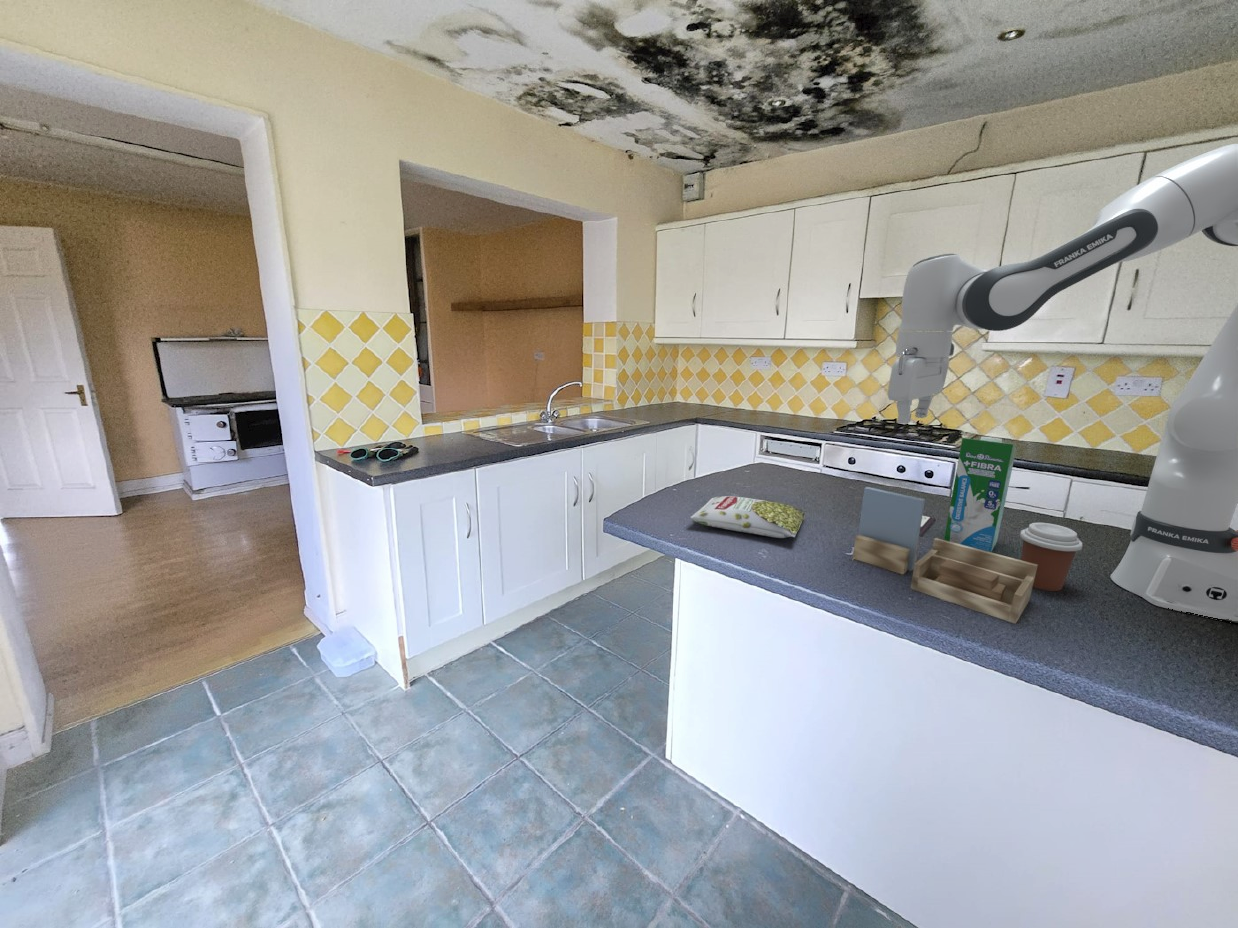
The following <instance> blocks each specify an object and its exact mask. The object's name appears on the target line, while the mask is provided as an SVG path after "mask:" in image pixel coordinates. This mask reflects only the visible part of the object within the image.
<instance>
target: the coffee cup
mask: <svg viewBox="0 0 1238 928" xmlns="http://www.w3.org/2000/svg"><path fill="white" fill-rule="evenodd" d="M1019 537H1020V538H1021V539H1022V548H1021V549H1022V550H1021V559H1020V560H1022V561H1026V562H1029V563H1033V564H1037V565H1038V566H1037V570H1036V575H1035V579H1034V583H1033V587H1032V588H1033V589H1034V588H1035V589H1038V590H1041V591H1042V590H1043V591H1049V592H1060V591H1062V590H1063V587H1064V585H1065V582H1066V580H1067V576H1068V574H1069V572H1070V569H1071V565H1072V563H1073V561H1074V558H1075V555H1076V553H1077V552H1079V551H1082V550H1083V546H1084V545H1083V544H1084V543H1083V542H1082V541H1081V540H1080V538H1078V532H1076V531H1074V529H1071V528H1069V527H1066V526H1062V525H1059V524H1055V523H1047V522H1032V523H1029V525H1028V527H1026V528H1024V529H1021V530H1020V533H1019Z"/></svg>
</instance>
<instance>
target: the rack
mask: <svg viewBox="0 0 1238 928" xmlns="http://www.w3.org/2000/svg"><path fill="white" fill-rule="evenodd" d="M948 559H950V560H953V561H956V562H960V563H963V564H966V565H970V566H973V567H976V568H980V569H983V570H986V571H990V572H993V573H996V574H999V579H998V583H999V584H1002V585H1006V587H1005V591H1004V595H1003V597H1002V599H1001V601H997V600H994V599H990V598H987V597H984V596H981V595H978V594H975V593H971V592H968V591H965V590H962V589H959V588H956V587H952V586H949V585H946V584H943V583H940V582H937V581H935V580H936V579H937V578H938V577H939V576H941V575H940V574H939V569H940V565H941V564H942V563H944V562H945V561H946V560H948ZM1037 566H1038V565H1037V564H1033V563H1029V562H1026V561H1022V560H1021V559H1017V558H1013V557H1009V556H1006V555H1002V554H999V553H994V552H987V551H984V550H980V549H976V548H972V547H968V546H965V545H961V544H957V543H953V542H949V541H946V540H944V539H941V538H938V537H935V538H933V543H932V548H931V549H930V550H929V551H928V552H926V554H924V555H923V556H922V557H921V558H920V559H918V560H916V563H915V564H914V569H913V570H912V576H911V583H910V588H909V589H910V590H913V591H917V592H919V593H922V594H926V595H929V596H931V597H934V598H938V599H941V600H943V601H945V602H949V603H952V604H954V605H955V604H956V605H958V606H961V607H964V608H968V609H970V610H973V611H976V612H979V613H982V614H985V615H988V616H991V617H994V618H998V619H999V620H1002V621H1006V622H1009V623H1011V624H1014V625H1016V624H1017V622H1018V621H1019V619H1020V617H1021V615H1022V614H1023V612H1024V611H1025V609H1026V608H1027V606H1028V604H1029V602H1030V600H1031V595H1032V591H1033V588H1034V587H1033V583H1034V579H1035V575H1036V570H1037Z"/></svg>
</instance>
